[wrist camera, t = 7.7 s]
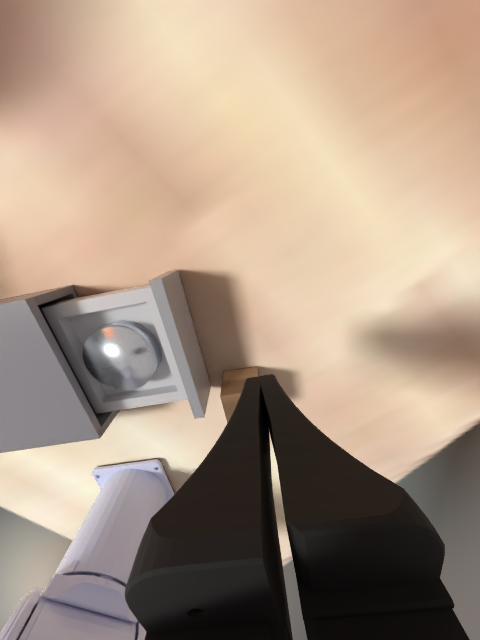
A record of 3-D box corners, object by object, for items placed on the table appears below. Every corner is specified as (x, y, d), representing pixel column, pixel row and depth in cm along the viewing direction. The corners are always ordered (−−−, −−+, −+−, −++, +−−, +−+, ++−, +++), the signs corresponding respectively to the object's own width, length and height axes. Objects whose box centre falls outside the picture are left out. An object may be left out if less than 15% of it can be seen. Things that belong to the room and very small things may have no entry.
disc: (169, 374, 20) (163, 385, 18) (109, 382, 20) (98, 394, 19) (150, 315, 18) (142, 323, 16) (84, 325, 18) (70, 333, 17)
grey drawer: (210, 385, 22) (204, 417, 18) (112, 401, 22) (87, 434, 19) (177, 269, 18) (161, 278, 14) (60, 292, 19) (15, 307, 15)
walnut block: (262, 393, 22) (265, 421, 19) (230, 398, 23) (228, 426, 19) (256, 366, 21) (259, 390, 18) (223, 371, 21) (220, 396, 18)
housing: (125, 401, 23) (99, 438, 19) (34, 415, 23) (-10, 454, 19) (72, 285, 19) (24, 299, 14) (-37, 306, 19) (-112, 326, 15)
